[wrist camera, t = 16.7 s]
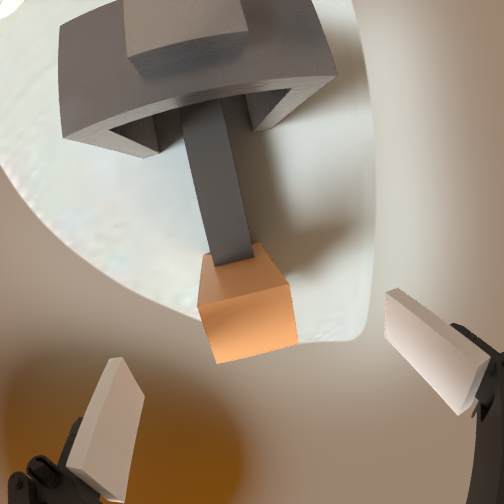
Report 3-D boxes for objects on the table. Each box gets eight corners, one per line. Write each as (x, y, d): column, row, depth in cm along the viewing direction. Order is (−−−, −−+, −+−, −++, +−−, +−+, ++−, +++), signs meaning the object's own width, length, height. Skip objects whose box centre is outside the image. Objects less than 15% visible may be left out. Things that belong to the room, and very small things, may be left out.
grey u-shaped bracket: (131, 95, 19) (46, 12, 5) (255, 67, 20) (309, -44, 6) (143, 158, 21) (43, 133, 7) (270, 128, 22) (354, 63, 7)
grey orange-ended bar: (161, 61, 19) (135, 2, 9) (217, 49, 19) (221, -17, 10) (218, 310, 25) (223, 381, 16) (270, 298, 26) (301, 361, 16)
